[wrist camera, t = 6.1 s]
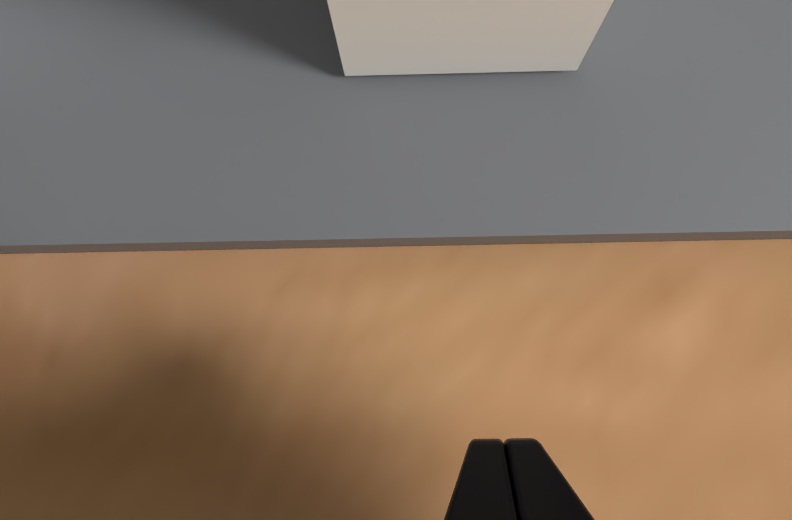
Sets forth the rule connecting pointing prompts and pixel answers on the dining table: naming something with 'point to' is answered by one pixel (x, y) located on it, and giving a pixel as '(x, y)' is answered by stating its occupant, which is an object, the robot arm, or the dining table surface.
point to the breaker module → (463, 35)
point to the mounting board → (384, 132)
